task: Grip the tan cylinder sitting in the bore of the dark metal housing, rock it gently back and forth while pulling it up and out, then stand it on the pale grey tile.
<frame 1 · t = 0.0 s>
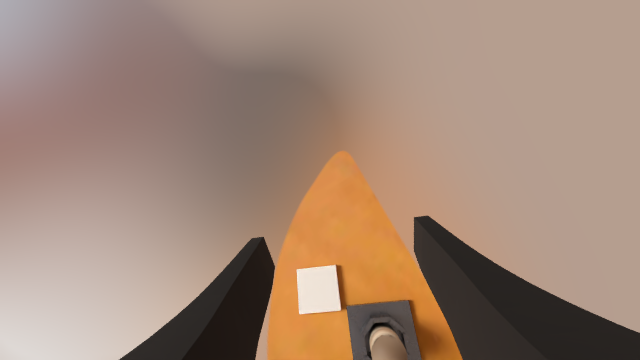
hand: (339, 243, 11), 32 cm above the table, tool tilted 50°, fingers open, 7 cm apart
tile pad: (318, 288, 40), on the table
housing: (382, 338, 36), on the table
tan cylinder: (383, 339, 35), point 1 cm above the table, touching housing
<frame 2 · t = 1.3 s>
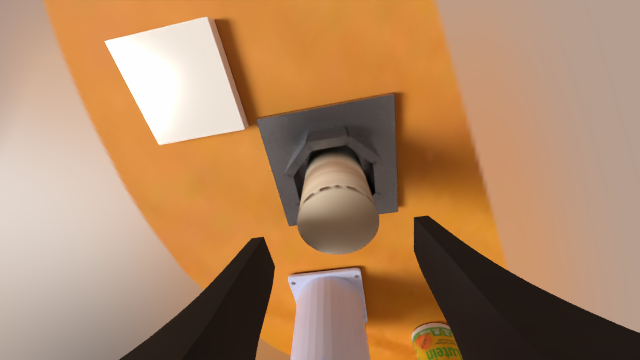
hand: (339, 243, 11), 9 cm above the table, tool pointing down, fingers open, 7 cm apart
supplement bottle: (430, 331, 30), on the table
tile pad: (187, 87, 17), on the table
housing: (333, 166, 19), on the table
tan cylinder: (333, 169, 18), point 1 cm above the table, touching housing
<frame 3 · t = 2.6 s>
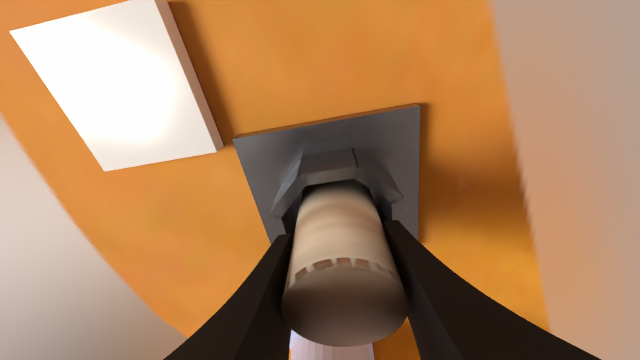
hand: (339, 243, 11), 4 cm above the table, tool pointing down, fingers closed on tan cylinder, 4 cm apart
tile pad: (138, 95, 12), on the table
housing: (335, 195, 15), on the table
tan cylinder: (336, 202, 14), point 1 cm above the table, touching gripper, housing
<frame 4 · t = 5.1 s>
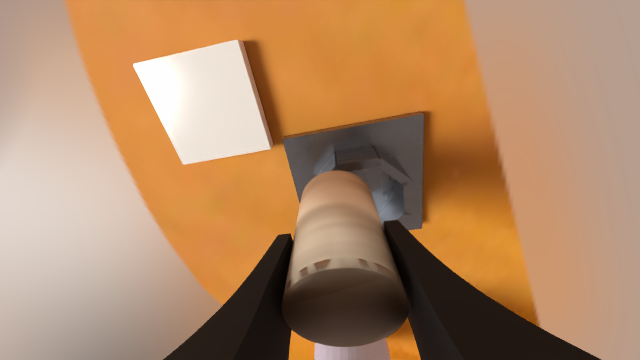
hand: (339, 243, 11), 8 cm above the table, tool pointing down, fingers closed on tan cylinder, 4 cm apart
tile pad: (213, 107, 16), on the table
housing: (357, 183, 19), on the table
tan cylinder: (336, 202, 14), point 5 cm above the table, touching gripper
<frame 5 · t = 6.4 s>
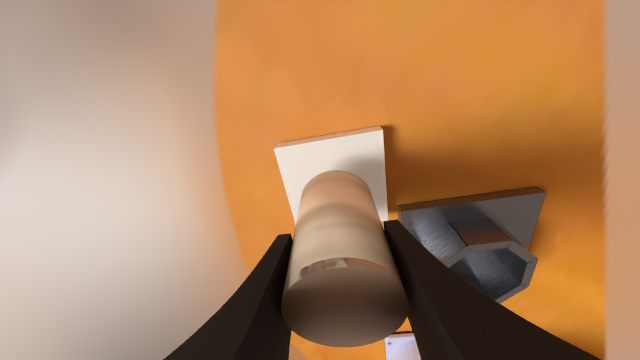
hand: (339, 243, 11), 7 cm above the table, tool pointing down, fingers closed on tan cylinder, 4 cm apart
tile pad: (334, 180, 17), on the table
housing: (458, 245, 19), on the table
tan cylinder: (336, 202, 14), point 3 cm above the table, touching gripper
when the fingers open (6 cm above the table, at t = 7.3 s): tan cylinder drops 2 cm, resting on tile pad.
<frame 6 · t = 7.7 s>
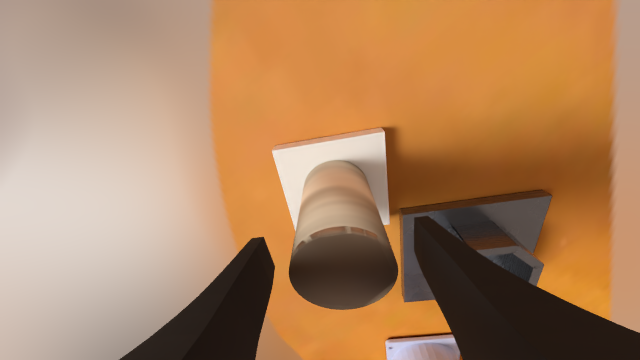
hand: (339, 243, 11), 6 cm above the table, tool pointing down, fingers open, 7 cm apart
tile pad: (334, 183, 16), on the table
housing: (461, 249, 19), on the table
tan cylinder: (335, 190, 15), point 1 cm above the table, touching tile pad
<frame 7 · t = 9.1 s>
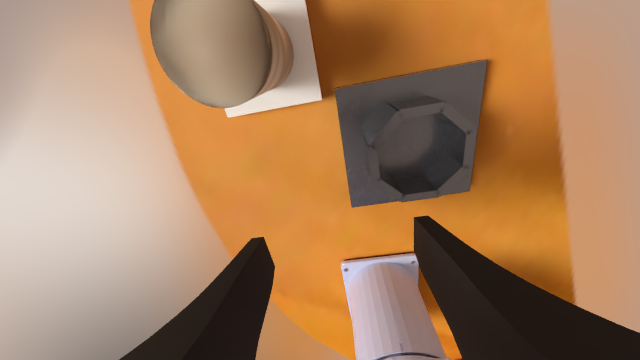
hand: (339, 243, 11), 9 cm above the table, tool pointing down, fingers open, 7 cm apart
tile pad: (263, 54, 16), on the table
housing: (405, 142, 18), on the table
tan cylinder: (259, 53, 15), point 1 cm above the table, touching tile pad
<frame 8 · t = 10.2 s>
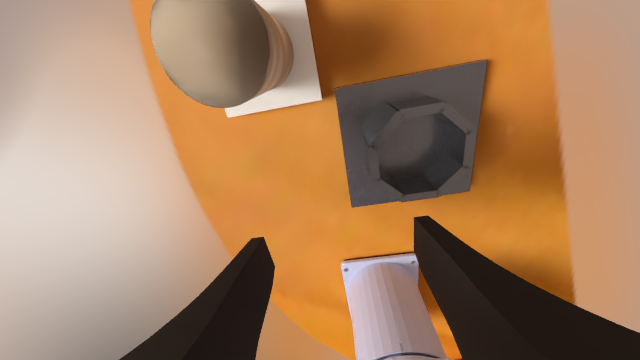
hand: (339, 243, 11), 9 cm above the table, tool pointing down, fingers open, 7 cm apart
tile pad: (263, 54, 16), on the table
housing: (405, 142, 18), on the table
tan cylinder: (259, 53, 15), point 1 cm above the table, touching tile pad
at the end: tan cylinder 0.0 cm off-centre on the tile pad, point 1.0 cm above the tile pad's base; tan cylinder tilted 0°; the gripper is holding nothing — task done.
